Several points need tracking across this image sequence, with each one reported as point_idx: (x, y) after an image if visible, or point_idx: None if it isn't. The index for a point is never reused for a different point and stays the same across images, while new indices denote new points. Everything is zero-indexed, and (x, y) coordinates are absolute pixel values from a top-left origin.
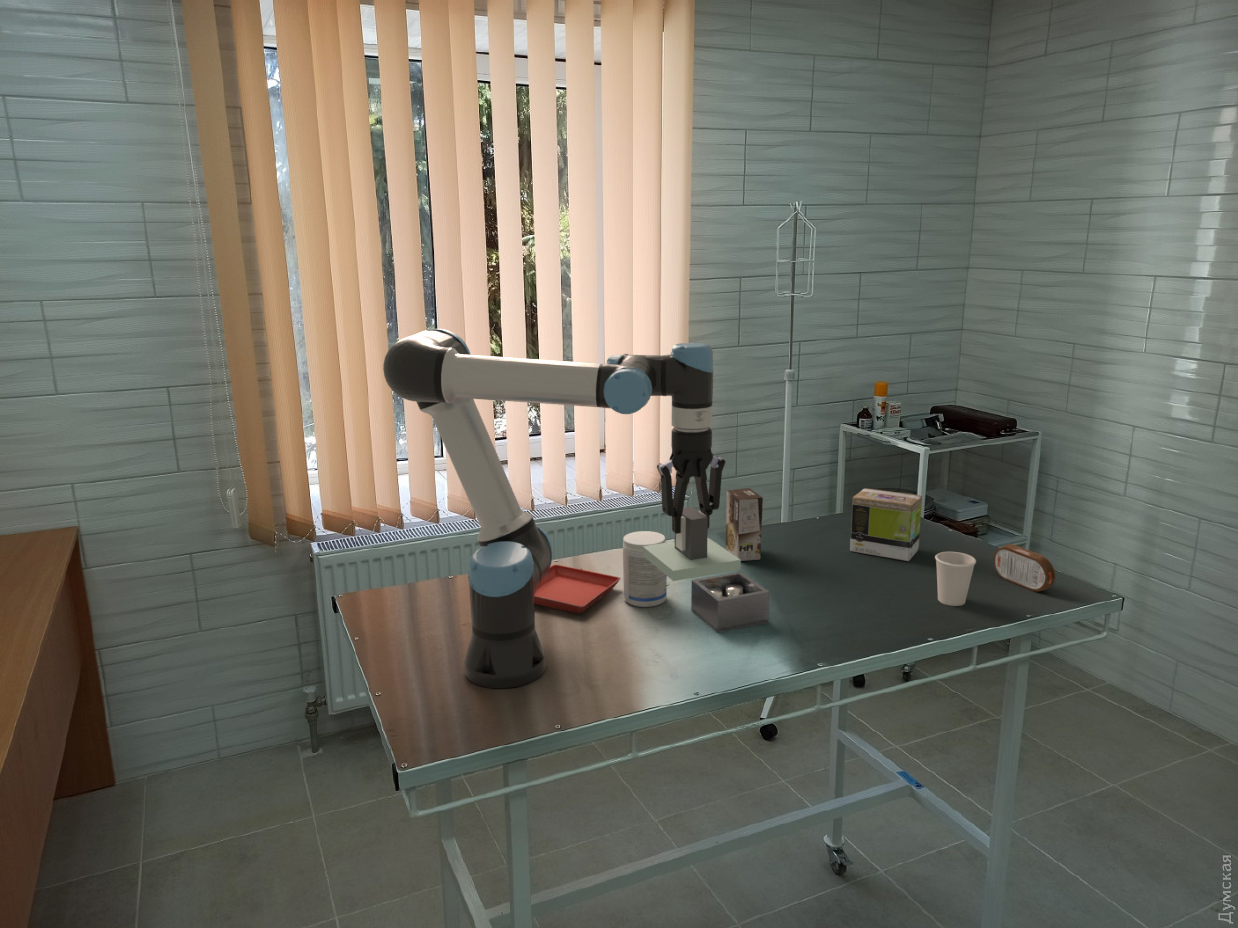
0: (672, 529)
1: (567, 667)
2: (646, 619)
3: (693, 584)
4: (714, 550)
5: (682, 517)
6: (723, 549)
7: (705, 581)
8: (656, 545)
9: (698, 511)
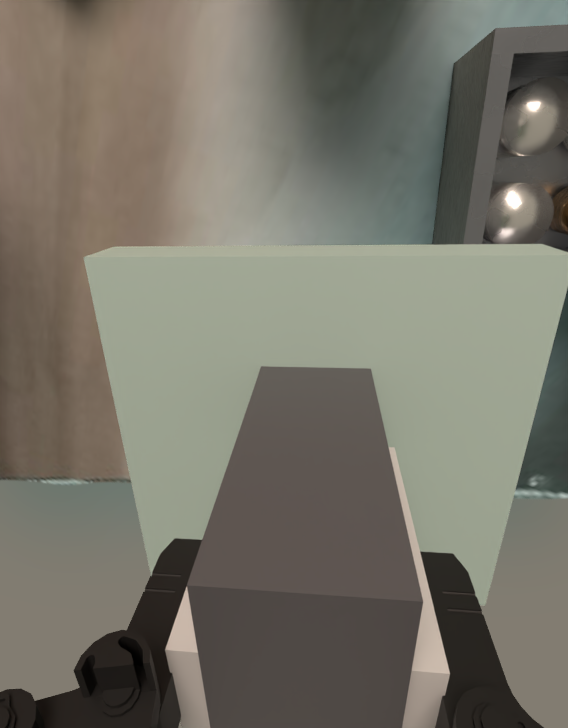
0: (161, 560)
1: (13, 286)
2: (279, 80)
3: (486, 56)
4: (451, 478)
5: (193, 722)
6: (504, 487)
7: (550, 54)
8: (172, 279)
9: (429, 680)
